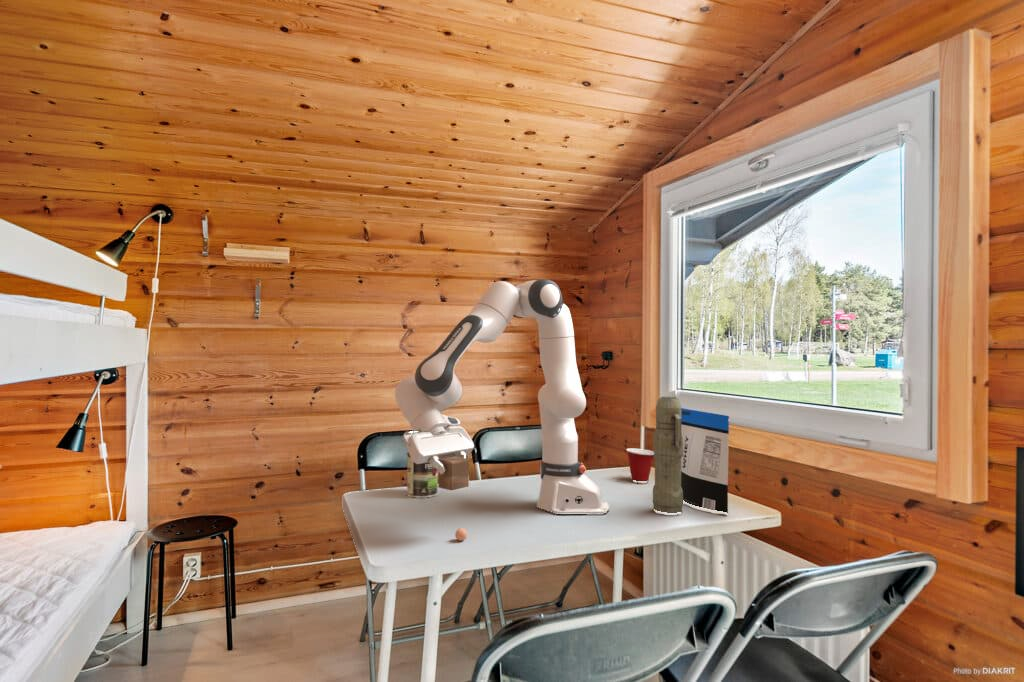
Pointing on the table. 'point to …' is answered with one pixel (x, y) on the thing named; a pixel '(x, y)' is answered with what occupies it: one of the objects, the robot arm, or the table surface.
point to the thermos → (668, 456)
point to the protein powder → (705, 459)
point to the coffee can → (421, 479)
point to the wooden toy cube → (454, 473)
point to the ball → (461, 534)
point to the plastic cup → (640, 463)
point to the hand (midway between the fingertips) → (455, 470)
